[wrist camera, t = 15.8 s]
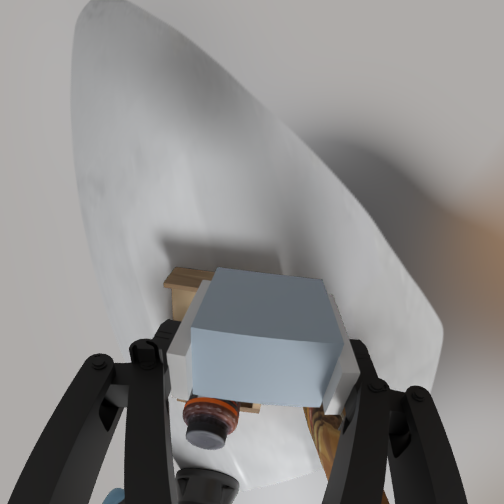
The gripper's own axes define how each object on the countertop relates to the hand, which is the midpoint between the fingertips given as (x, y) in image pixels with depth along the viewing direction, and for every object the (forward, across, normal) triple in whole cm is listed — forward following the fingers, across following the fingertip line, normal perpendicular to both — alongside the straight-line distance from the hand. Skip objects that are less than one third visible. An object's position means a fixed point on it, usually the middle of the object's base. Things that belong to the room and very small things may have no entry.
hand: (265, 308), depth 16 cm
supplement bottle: (+12, +4, +17) cm, 22 cm away
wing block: (0, 0, 0) cm, 0 cm away
